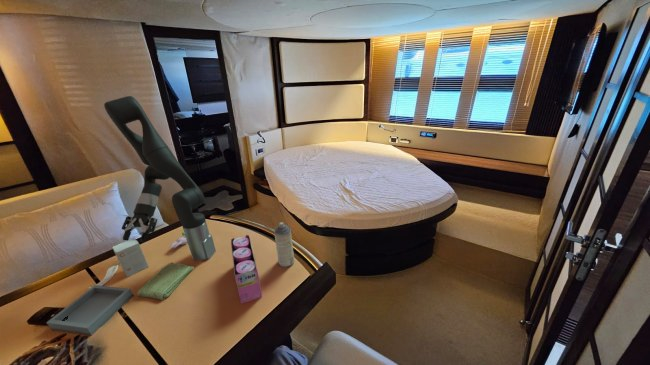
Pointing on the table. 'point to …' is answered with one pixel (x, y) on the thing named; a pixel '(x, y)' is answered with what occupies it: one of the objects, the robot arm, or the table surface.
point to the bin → (91, 310)
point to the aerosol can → (284, 245)
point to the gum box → (245, 269)
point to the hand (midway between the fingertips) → (133, 241)
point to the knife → (108, 275)
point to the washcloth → (165, 281)
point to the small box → (130, 257)
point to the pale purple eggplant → (179, 241)
